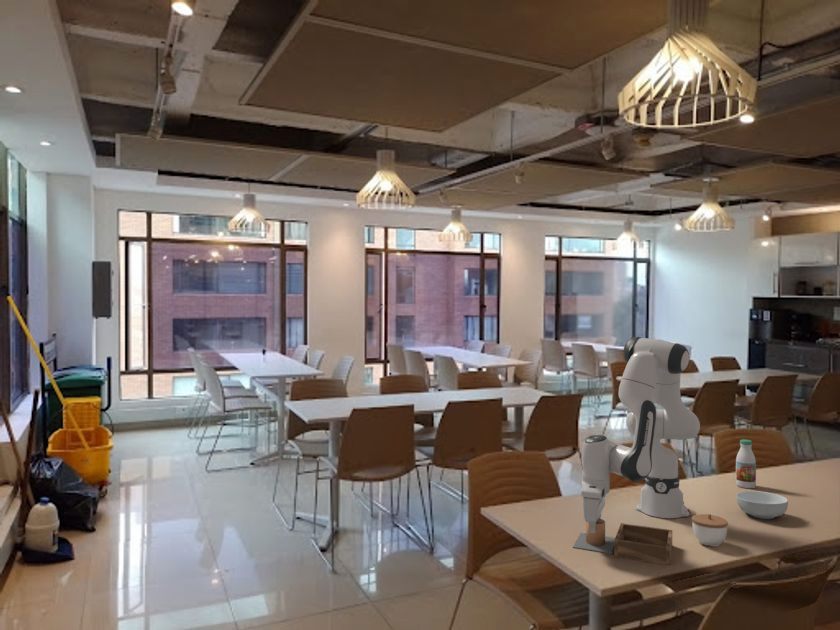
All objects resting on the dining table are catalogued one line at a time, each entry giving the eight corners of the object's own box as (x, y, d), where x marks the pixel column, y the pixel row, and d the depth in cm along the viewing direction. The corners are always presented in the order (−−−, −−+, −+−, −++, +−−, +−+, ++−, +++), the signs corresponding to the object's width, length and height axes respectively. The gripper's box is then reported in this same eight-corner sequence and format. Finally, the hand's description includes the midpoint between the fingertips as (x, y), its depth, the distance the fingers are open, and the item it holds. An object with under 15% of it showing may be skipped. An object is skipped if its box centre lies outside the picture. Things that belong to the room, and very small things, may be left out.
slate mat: (580, 533, 213) (580, 532, 213) (617, 538, 208) (617, 538, 208) (572, 547, 201) (572, 546, 201) (611, 553, 196) (611, 552, 196)
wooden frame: (620, 537, 209) (620, 523, 209) (672, 545, 203) (672, 530, 203) (614, 556, 194) (614, 540, 194) (669, 564, 187) (669, 548, 187)
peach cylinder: (587, 537, 208) (587, 516, 208) (606, 540, 206) (606, 519, 206) (584, 543, 203) (584, 522, 203) (603, 546, 201) (603, 525, 200)
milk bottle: (731, 484, 274) (732, 438, 274) (748, 483, 275) (748, 438, 275) (742, 489, 266) (743, 442, 266) (759, 488, 267) (760, 441, 267)
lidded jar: (717, 536, 211) (717, 509, 210) (734, 549, 200) (734, 519, 200) (685, 537, 210) (686, 509, 210) (701, 549, 199) (701, 520, 199)
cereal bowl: (763, 507, 242) (763, 489, 242) (799, 521, 226) (799, 501, 226) (726, 510, 238) (726, 492, 238) (759, 525, 222) (759, 505, 222)
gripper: (590, 476, 215) (590, 516, 215) (580, 492, 197) (579, 536, 197) (609, 478, 213) (609, 519, 213) (600, 495, 194) (600, 539, 194)
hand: (595, 527), depth 205 cm, fingers open, 8 cm apart
